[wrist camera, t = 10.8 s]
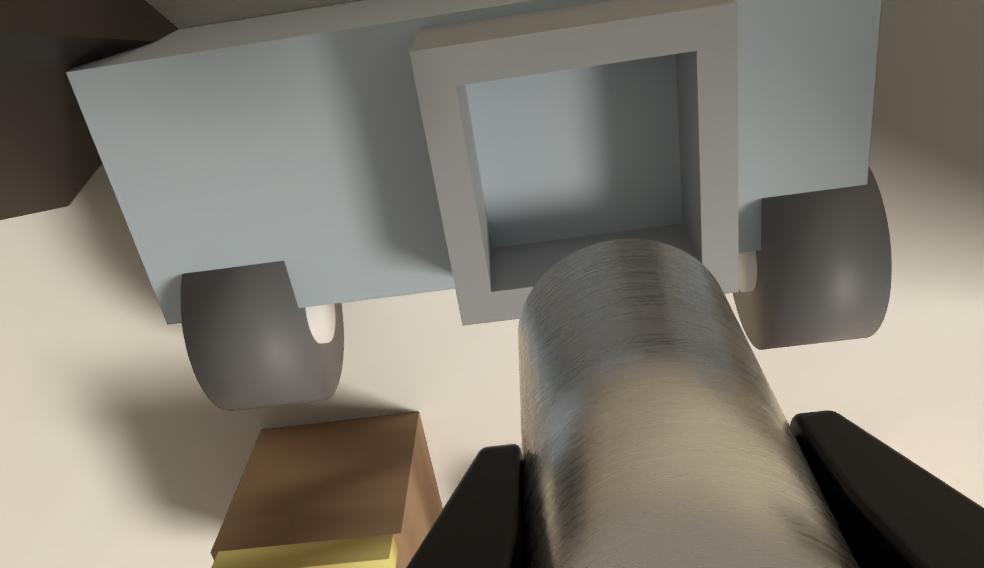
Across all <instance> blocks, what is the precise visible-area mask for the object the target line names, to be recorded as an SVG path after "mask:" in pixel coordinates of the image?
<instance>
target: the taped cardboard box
mask: <svg viewBox="0 0 984 568" xmlns="http://www.w3.org/2000/svg"><path fill="white" fill-rule="evenodd" d="M442 510H443V508H442V504H441V500H440V496H439V491H438V487H437V483H436V479H435V475H434V471H433V467H432V463H431V459H430V454H429V450H428V446H427V442H426V438H425V434H424V430H423V426H422V422H421V417H420V413H419V412H412V413H404V414H395V415H386V416H377V417H369V418H360V419H351V420H342V421H334V422H325V423H316V424H307V425H298V426H290V427H281V428H272V429H263V430H261V432H260V435H259V437H258V439H257V442H256V444H255V447H254V449H253V451H252V454H251V456H250V459H249V461H248V464H247V466H246V468H245V471H244V473H243V476H242V478H241V480H240V483H239V485H238V488H237V490H236V492H235V495H234V497H233V500H232V502H231V505H230V507H229V509H228V512H227V514H226V517H225V519H224V521H223V524H222V526H221V529H220V531H219V533H218V536H217V538H216V541H215V543H214V546H213V548H212V550H211V554H212V557H213V559H214V563H213V565H212V568H406V567H407V566H408V564H409V562H410V561H411V559H412V558H413V556H414V554H415V553H416V551H417V550H418V548H419V546H420V545H421V543H422V542H423V540H424V539H425V537H426V535H427V534H428V532H429V531H430V529H431V527H432V526H433V524H434V523H435V521H436V519H437V518H438V516H439V515H440V513H441V512H442Z"/></svg>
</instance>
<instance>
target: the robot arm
mask: <svg viewBox="0 0 984 568" xmlns="http://www.w3.org/2000/svg"><path fill="white" fill-rule="evenodd" d="M790 428H791V430H792V432H793V434H794V436H795V438H796V440H797V442H798V444H799V446H800V448H801V450H802V452H803V454H804V456H805V458H806V460H807V462H808V464H809V466H810V469H811V471H812V473H813V475H814V477H815V479H816V481H817V483H818V485H819V487H820V489H821V491H822V493H823V495H824V497H825V499H826V501H827V503H828V505H829V507H830V509H831V511H832V513H833V515H834V517H835V519H836V521H837V523H838V525H839V527H840V529H841V531H842V533H843V535H844V537H845V539H846V541H847V543H848V545H849V547H850V549H851V551H852V553H853V555H854V557H855V559H856V561H857V564H858V566H859V568H984V508H983V507H982V506H980V505H979V504H977V503H975V502H974V501H972V500H971V499H969V498H968V497H966V496H965V495H963V494H962V493H960V492H959V491H957V490H955V489H954V488H952V487H951V486H949V485H948V484H946V483H945V482H943V481H942V480H940V479H939V478H937V477H936V476H934V475H932V474H931V473H929V472H928V471H926V470H925V469H923V468H922V467H920V466H919V465H917V464H916V463H914V462H912V461H911V460H909V459H908V458H906V457H905V456H903V455H902V454H900V453H899V452H897V451H896V450H894V449H892V448H891V447H889V446H888V445H886V444H885V443H883V442H882V441H880V440H879V439H877V438H876V437H874V436H872V435H871V434H869V433H868V432H866V431H865V430H863V429H862V428H860V427H859V426H857V425H856V424H854V423H852V422H851V421H849V420H848V419H846V418H845V417H843V416H842V415H840V414H838V413H836V412H834V411H818V412H809V413H800V414H797V415H795V416H794V417H793V418H792V421H791V424H790ZM406 568H526V539H525V508H524V477H523V457H522V453H521V449H520V447H519V446H518V445H516V444H509V445H499V446H490V447H485V448H483V449H481V450H480V451H479V453H478V454H477V456H476V457H475V459H474V461H473V462H472V464H471V465H470V467H469V469H468V470H467V472H466V473H465V475H464V477H463V478H462V480H461V481H460V483H459V485H458V486H457V488H456V489H455V491H454V492H453V494H452V496H451V497H450V499H449V500H448V502H447V504H446V505H445V507H444V508H443V510H442V512H441V513H440V515H439V516H438V518H437V519H436V521H435V523H434V524H433V526H432V527H431V529H430V531H429V532H428V534H427V535H426V537H425V539H424V540H423V542H422V543H421V545H420V546H419V548H418V550H417V551H416V553H415V554H414V556H413V558H412V559H411V561H410V562H409V564H408V566H407V567H406Z"/></svg>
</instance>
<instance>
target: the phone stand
mask: <svg viewBox="0 0 984 568" xmlns="http://www.w3.org/2000/svg"><path fill="white" fill-rule="evenodd" d="M176 30H178V28H177V27H176V26H174V25H173V24H172V23H171V22H170V21H169V20H167V19H166V18H165V17H164V16H163V15H162V14H160V13H159V12H158V11H157V10H156V9H155V8H153V7H152V6H151V5H150V4H149V3H148V2H146V1H145V0H0V220H3V219H8V218H13V217H17V216H22V215H27V214H32V213H37V212H42V211H47V210H52V209H56V208H61V207H66V206H69V205H70V203H71V202H72V201H73V200H74V198H75V197H76V196H77V194H78V193H79V192H80V191H81V189H82V188H83V187H84V185H85V184H86V183H87V182H88V180H89V179H90V178H91V176H92V175H93V174H94V173H95V171H96V170H97V169H98V168H99V166H100V165H101V164H102V161H101V158H100V156H99V153H98V151H97V148H96V146H95V143H94V141H93V138H92V136H91V133H90V131H89V128H88V126H87V123H86V121H85V118H84V116H83V113H82V111H81V108H80V106H79V103H78V101H77V99H76V96H75V94H74V91H73V89H72V86H71V84H70V81H69V79H68V76H67V74H66V72H68V71H69V70H71V69H73V68H75V67H78V66H81V65H84V64H88V63H91V62H94V61H97V60H100V59H103V58H106V57H109V56H113V55H116V54H119V53H122V52H125V51H128V50H131V49H134V48H138V47H141V46H144V45H147V44H150V43H153V42H156V41H158V40H160V39H162V38H164V37H165V36H167V35H169V34H171V33H172V32H174V31H176Z"/></svg>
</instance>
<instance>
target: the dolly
mask: <svg viewBox="0 0 984 568" xmlns="http://www.w3.org/2000/svg"><path fill="white" fill-rule="evenodd" d="M881 3H882V0H363V1H356V2H350V3H344V4H337V5H331V6H324V7H318V8H312V9H305V10H299V11H292V12H286V13H280V14H273V15H267V16H261V17H254V18H248V19H241V20H235V21H229V22H222V23H216V24H210V25H203V26H197V27H190V28H184V29H178V30H176V31H174V32H172V33H171V34H169V35H167V36H165V37H164V38H162V39H160V40H158V41H156V42H153V43H150V44H147V45H144V46H141V47H138V48H134V49H131V50H128V51H125V52H122V53H119V54H116V55H113V56H109V57H106V58H103V59H100V60H97V61H94V62H91V63H88V64H84V65H81V66H78V67H75V68H73V69H71V70H69V71H68V72H66V74H67V76H68V79H69V81H70V84H71V86H72V89H73V91H74V94H75V96H76V99H77V101H78V103H79V106H80V108H81V111H82V113H83V116H84V118H85V121H86V123H87V126H88V128H89V131H90V133H91V136H92V138H93V141H94V143H95V146H96V148H97V151H98V153H99V156H100V158H101V161H102V163H103V166H104V168H105V171H106V173H107V176H108V178H109V180H110V183H111V185H112V188H113V190H114V193H115V195H116V198H117V200H118V203H119V205H120V208H121V210H122V213H123V215H124V218H125V220H126V223H127V225H128V228H129V230H130V233H131V235H132V238H133V240H134V243H135V245H136V248H137V250H138V253H139V255H140V258H141V260H142V262H143V265H144V267H145V270H146V272H147V275H148V277H149V280H150V282H151V285H152V287H153V290H154V292H155V295H156V297H157V300H158V302H159V305H160V307H161V310H162V312H163V315H164V317H165V320H166V322H167V325H168V324H176V323H182V327H183V334H184V339H185V344H186V349H187V352H188V356H189V360H190V363H191V365H192V368H193V371H194V373H195V376H196V378H197V380H198V382H199V384H200V386H201V388H202V389H203V391H204V393H205V394H206V395H207V397H208V398H209V399H210V400H211V401H212V402H213V403H214V404H215V405H216V406H218V407H219V408H221V409H223V410H227V411H233V410H241V409H250V408H259V407H268V406H276V405H285V404H294V403H302V402H311V401H320V400H326V399H329V398H330V397H331V396H332V395H333V394H334V392H335V390H336V388H337V386H338V383H339V379H340V375H341V370H342V363H343V351H344V328H343V314H342V305H341V303H344V302H352V301H360V300H368V299H376V298H384V297H392V296H400V295H408V294H416V293H424V292H432V291H440V290H448V289H456V294H457V299H458V304H459V309H460V314H461V319H462V325H471V324H479V323H488V322H496V321H504V320H512V319H520V317H521V312H522V309H523V306H524V304H525V301H526V299H527V297H528V295H529V294H530V292H531V290H532V288H533V287H534V286H535V284H536V283H537V282H538V281H539V279H540V278H541V277H542V276H543V275H544V274H545V273H546V272H547V271H548V270H549V269H550V268H551V267H552V266H554V265H555V264H556V263H558V262H559V261H560V260H561V259H563V258H565V257H567V256H568V255H570V254H572V253H573V252H575V251H578V250H580V249H582V248H584V247H587V246H590V245H593V244H596V243H600V242H604V241H609V240H615V239H628V238H632V239H647V240H653V241H658V242H662V243H665V244H668V245H672V246H674V247H676V248H678V249H681V250H683V251H685V252H686V253H688V254H690V255H691V256H693V257H694V258H696V259H697V260H698V261H700V262H701V263H702V264H703V265H704V266H705V267H706V268H707V269H708V270H709V271H710V272H711V273H712V275H713V276H714V277H715V279H716V280H717V282H718V283H719V285H720V287H721V289H722V291H723V293H724V294H727V293H733V296H734V300H735V304H736V308H737V311H738V314H739V317H740V320H741V323H742V326H743V328H744V330H745V333H746V335H747V337H748V338H749V340H750V342H751V343H752V344H753V346H755V347H756V348H757V349H759V350H763V349H771V348H780V347H789V346H797V345H806V344H815V343H823V342H832V341H841V340H850V339H858V338H867V337H870V336H872V335H873V334H874V333H875V332H876V331H877V330H878V329H879V327H880V326H881V324H882V322H883V320H884V317H885V314H886V311H887V306H888V302H889V296H890V289H891V246H890V236H889V229H888V223H887V218H886V213H885V209H884V205H883V201H882V198H881V194H880V191H879V188H878V185H877V183H876V180H875V178H874V176H873V173H872V171H871V169H870V167H869V153H870V141H871V128H872V116H873V103H874V91H875V78H876V66H877V53H878V40H879V28H880V15H881Z"/></svg>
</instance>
